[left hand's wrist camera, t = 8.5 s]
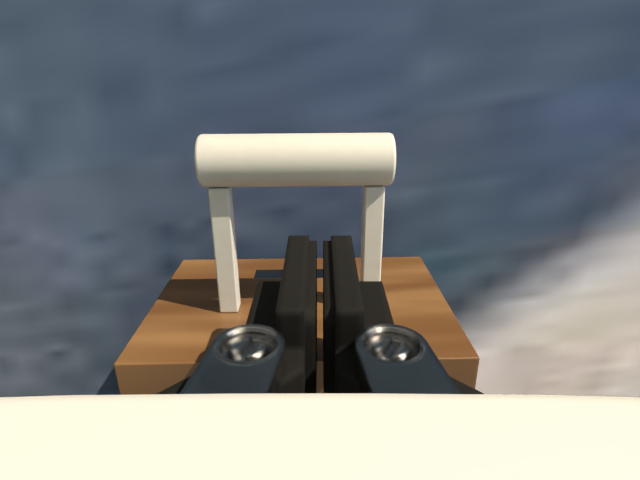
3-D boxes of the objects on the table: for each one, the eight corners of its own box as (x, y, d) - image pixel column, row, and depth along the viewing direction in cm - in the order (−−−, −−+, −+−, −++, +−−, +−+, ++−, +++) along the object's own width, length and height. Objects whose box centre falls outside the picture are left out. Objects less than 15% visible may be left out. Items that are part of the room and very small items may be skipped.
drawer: (165, 119, 17) (69, 153, 10) (431, 117, 17) (510, 149, 10) (215, 518, 24) (179, 689, 17) (399, 514, 24) (432, 681, 18)
